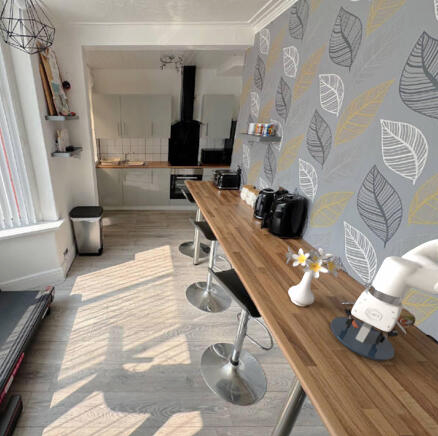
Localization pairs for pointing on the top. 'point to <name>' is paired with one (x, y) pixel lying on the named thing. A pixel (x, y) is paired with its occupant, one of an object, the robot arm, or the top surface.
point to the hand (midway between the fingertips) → (362, 333)
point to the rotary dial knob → (362, 339)
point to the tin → (406, 319)
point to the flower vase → (310, 273)
